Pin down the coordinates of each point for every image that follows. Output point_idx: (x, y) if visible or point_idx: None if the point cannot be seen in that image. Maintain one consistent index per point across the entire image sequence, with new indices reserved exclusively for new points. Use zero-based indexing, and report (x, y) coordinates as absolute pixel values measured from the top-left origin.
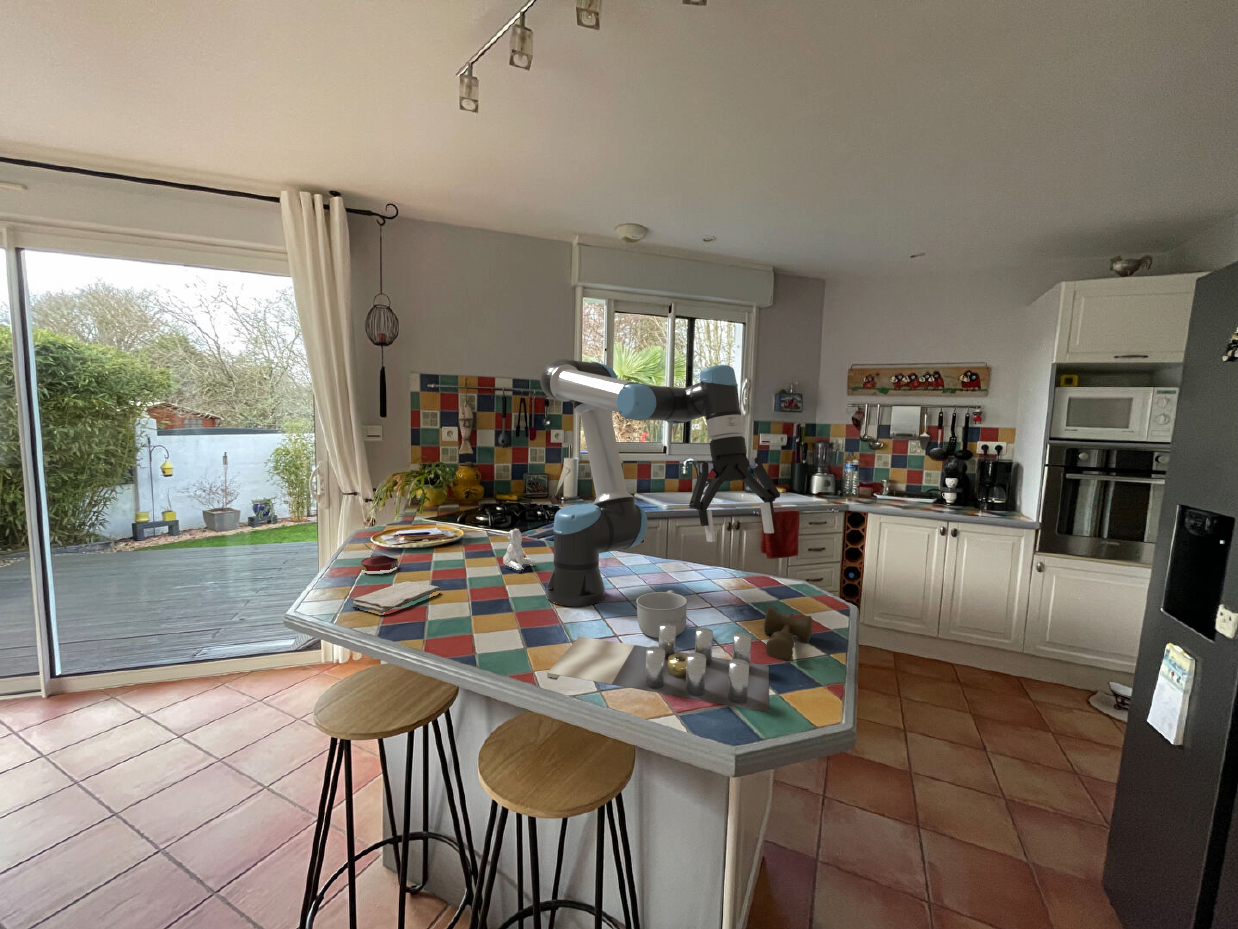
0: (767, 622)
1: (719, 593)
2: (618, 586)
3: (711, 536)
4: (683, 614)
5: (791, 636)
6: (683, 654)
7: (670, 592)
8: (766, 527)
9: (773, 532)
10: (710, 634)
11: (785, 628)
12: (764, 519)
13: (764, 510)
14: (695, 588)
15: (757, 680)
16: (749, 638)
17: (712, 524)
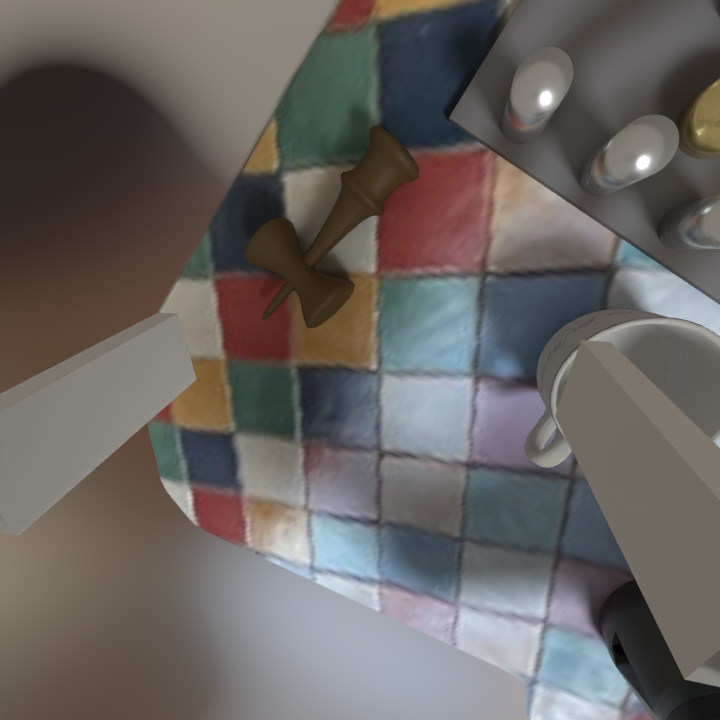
0: (345, 281)
1: (330, 503)
2: (534, 628)
3: (630, 362)
4: (588, 327)
5: (343, 174)
6: (706, 141)
7: (559, 449)
8: (165, 366)
9: (159, 313)
10: (638, 118)
11: (323, 239)
12: (128, 405)
13: (58, 436)
14: (365, 544)
15: (528, 39)
16: (529, 59)
17: (662, 419)
